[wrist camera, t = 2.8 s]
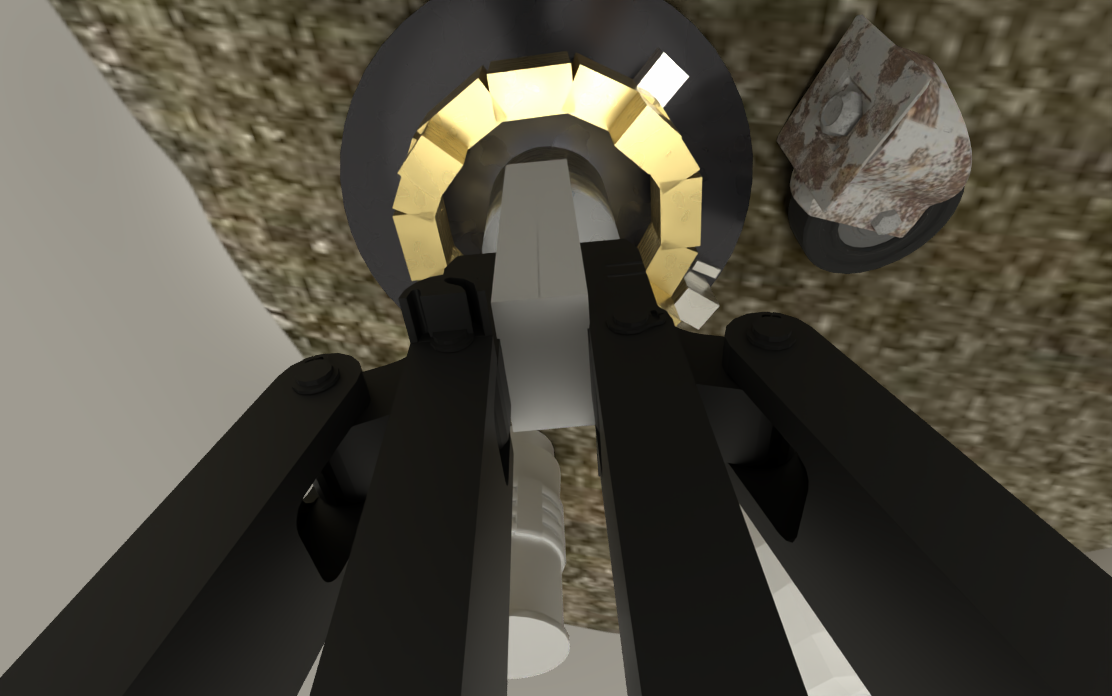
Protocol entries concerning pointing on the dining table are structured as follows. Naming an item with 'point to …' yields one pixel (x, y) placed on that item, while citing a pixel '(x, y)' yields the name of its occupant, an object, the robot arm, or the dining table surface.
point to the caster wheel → (873, 154)
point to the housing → (545, 130)
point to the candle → (536, 559)
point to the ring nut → (552, 91)
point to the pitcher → (806, 631)
